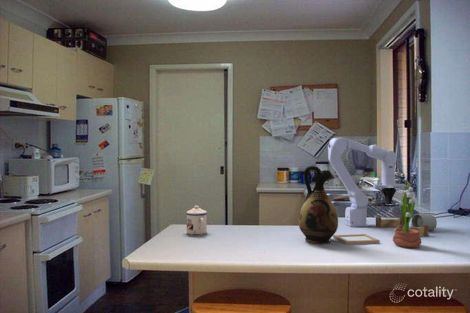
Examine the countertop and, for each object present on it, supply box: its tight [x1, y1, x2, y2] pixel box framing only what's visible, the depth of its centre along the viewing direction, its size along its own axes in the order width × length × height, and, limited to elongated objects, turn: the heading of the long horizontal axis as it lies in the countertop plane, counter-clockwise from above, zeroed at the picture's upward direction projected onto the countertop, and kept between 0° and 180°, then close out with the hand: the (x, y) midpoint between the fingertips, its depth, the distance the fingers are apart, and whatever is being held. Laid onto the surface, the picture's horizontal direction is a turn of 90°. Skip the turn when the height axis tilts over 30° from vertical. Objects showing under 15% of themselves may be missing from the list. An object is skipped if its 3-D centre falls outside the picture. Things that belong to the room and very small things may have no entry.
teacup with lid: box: [185, 205, 208, 235], centre depth 165 cm, size 12×9×12 cm
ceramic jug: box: [297, 165, 339, 245], centre depth 152 cm, size 17×15×30 cm
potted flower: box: [392, 180, 422, 249], centre depth 145 cm, size 12×10×25 cm
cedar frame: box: [375, 216, 429, 237], centre depth 172 cm, size 13×21×4 cm, turn 5°
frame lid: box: [332, 233, 380, 246], centre depth 153 cm, size 14×11×1 cm
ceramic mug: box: [410, 213, 438, 232], centre depth 175 cm, size 11×8×8 cm
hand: (388, 203), depth 185 cm, fingers closed
